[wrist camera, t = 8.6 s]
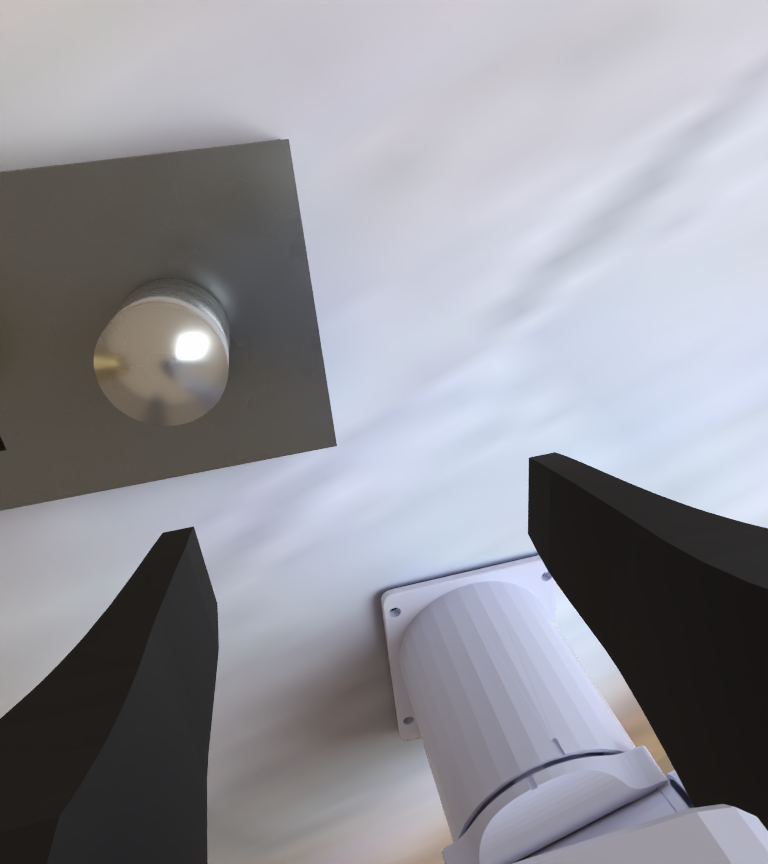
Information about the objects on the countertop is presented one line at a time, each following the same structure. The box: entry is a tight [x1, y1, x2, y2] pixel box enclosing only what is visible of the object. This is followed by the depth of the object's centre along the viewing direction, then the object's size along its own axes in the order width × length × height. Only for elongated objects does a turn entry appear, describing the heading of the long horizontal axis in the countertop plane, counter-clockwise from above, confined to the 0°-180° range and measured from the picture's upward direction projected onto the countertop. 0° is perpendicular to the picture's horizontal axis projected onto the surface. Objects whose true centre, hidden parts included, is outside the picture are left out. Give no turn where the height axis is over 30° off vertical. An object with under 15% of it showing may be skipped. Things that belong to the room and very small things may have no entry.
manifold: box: [0, 139, 337, 511], centre depth 16 cm, size 9×16×6 cm, turn 96°
